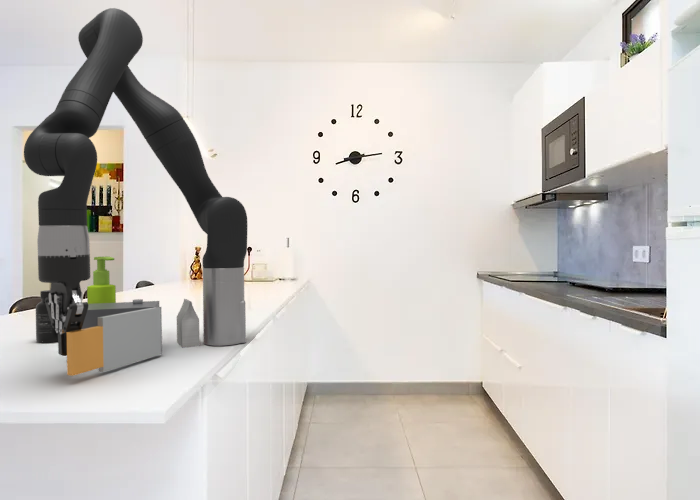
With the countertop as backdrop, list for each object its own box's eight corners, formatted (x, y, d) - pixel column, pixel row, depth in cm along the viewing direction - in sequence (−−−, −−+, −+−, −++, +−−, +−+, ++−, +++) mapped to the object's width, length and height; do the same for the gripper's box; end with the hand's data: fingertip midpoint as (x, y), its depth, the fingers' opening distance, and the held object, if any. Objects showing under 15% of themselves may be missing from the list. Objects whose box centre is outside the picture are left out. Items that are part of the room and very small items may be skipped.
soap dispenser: (99, 345, 106) (98, 257, 106) (82, 342, 110) (81, 256, 110) (124, 341, 111) (122, 256, 111) (107, 338, 115) (106, 256, 115)
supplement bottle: (75, 339, 114) (74, 289, 114) (44, 344, 108) (43, 292, 108) (60, 336, 118) (59, 288, 117) (30, 341, 112) (29, 291, 112)
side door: (158, 353, 96) (157, 306, 96) (163, 353, 96) (162, 306, 96) (67, 381, 77) (66, 323, 77) (72, 381, 76) (71, 323, 76)
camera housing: (160, 343, 108) (159, 296, 108) (154, 356, 96) (154, 303, 96) (92, 348, 104) (91, 299, 104) (77, 361, 92) (76, 306, 92)
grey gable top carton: (182, 347, 104) (181, 302, 104) (177, 342, 110) (176, 299, 109) (199, 345, 106) (198, 301, 105) (193, 340, 111) (192, 298, 111)
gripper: (25, 252, 81) (28, 353, 82) (53, 254, 73) (57, 366, 73) (73, 251, 87) (76, 344, 87) (104, 252, 78) (107, 356, 79)
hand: (67, 354), depth 80 cm, fingers closed
